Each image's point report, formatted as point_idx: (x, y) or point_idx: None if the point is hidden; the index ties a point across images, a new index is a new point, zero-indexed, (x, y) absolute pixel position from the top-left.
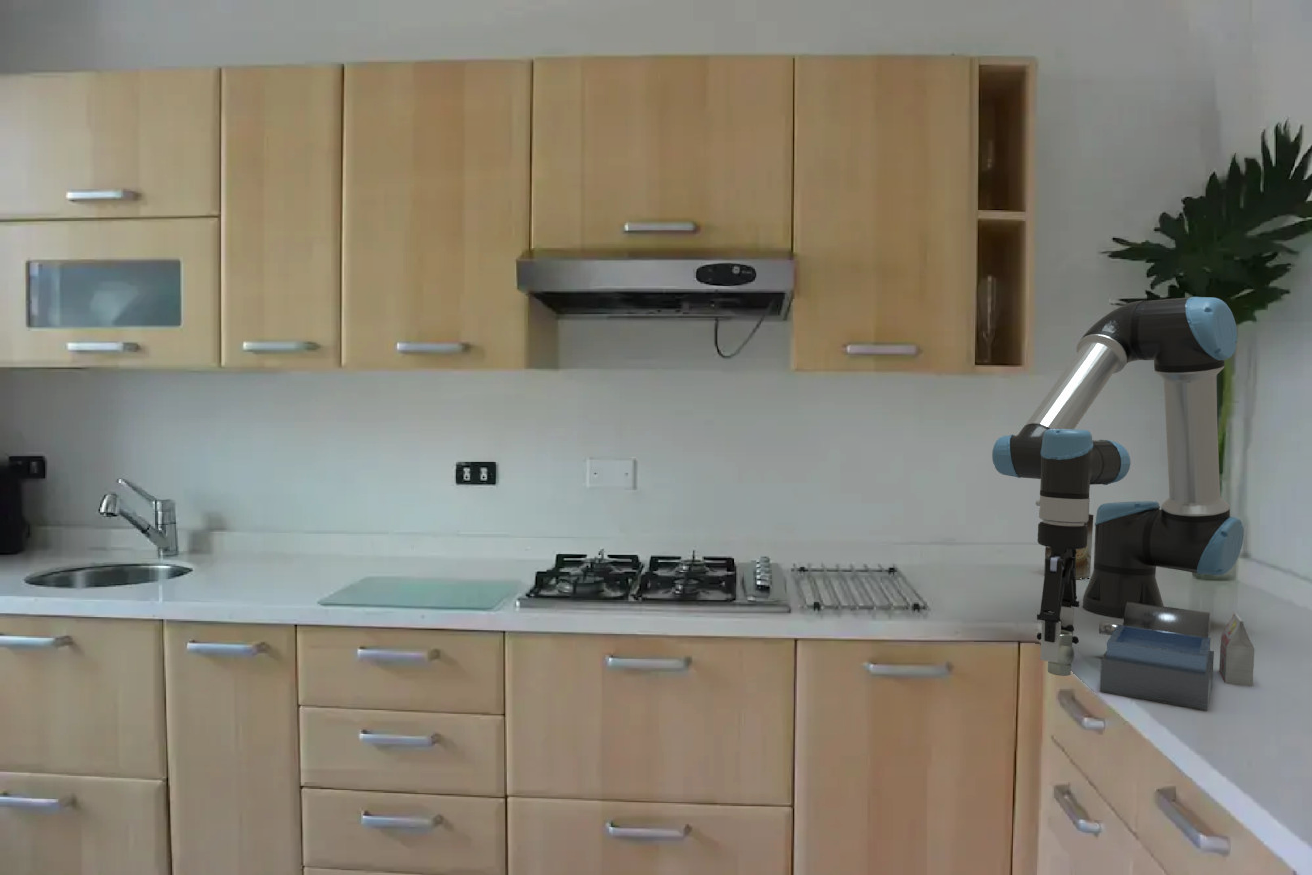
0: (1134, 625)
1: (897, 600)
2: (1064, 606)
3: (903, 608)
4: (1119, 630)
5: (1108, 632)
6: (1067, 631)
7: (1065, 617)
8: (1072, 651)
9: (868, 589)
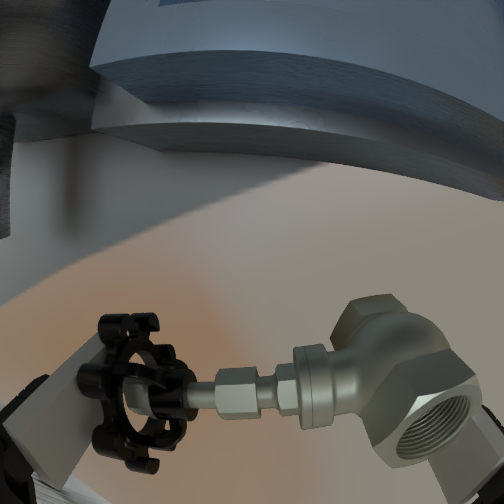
0: (50, 10)
1: (46, 491)
2: (26, 460)
3: (70, 499)
4: (367, 33)
5: (7, 193)
6: (412, 417)
7: (66, 427)
8: (435, 329)
9: (39, 496)
